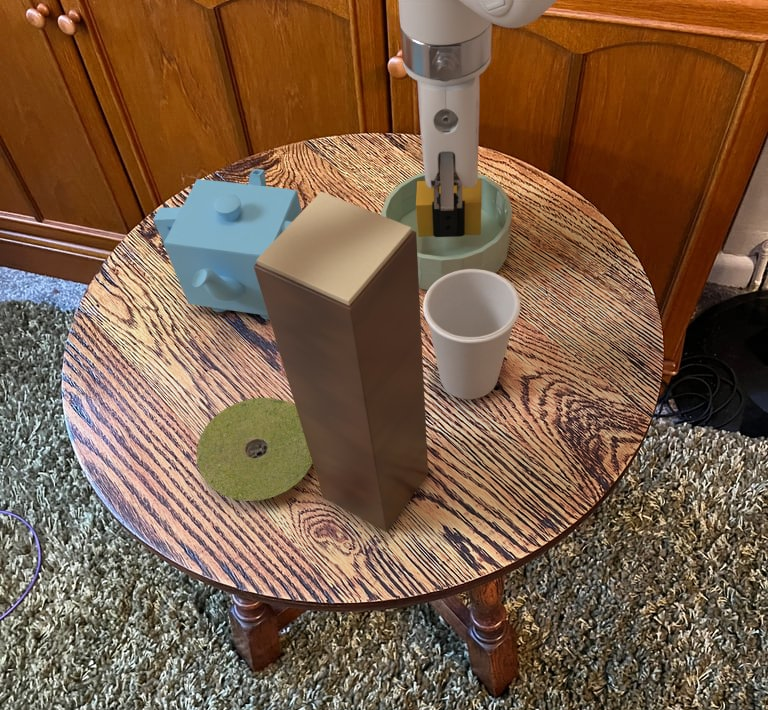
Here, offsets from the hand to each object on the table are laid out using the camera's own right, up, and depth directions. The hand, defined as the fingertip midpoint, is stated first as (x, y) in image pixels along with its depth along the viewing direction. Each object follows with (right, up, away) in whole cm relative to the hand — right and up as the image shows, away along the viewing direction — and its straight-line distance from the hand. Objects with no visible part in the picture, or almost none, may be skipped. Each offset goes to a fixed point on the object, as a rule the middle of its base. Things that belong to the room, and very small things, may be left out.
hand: (449, 218), depth 80 cm
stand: (-7, -28, -10) cm, 31 cm away
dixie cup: (+2, -17, -5) cm, 18 cm away
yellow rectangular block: (0, 0, +1) cm, 1 cm away
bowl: (0, -2, +4) cm, 4 cm away
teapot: (-21, -7, +3) cm, 23 cm away
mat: (-18, -25, -7) cm, 32 cm away
